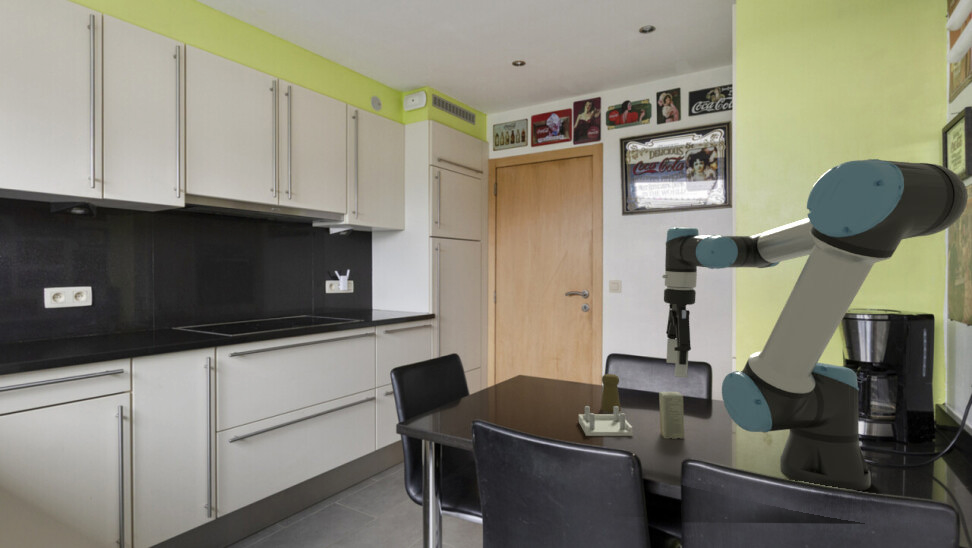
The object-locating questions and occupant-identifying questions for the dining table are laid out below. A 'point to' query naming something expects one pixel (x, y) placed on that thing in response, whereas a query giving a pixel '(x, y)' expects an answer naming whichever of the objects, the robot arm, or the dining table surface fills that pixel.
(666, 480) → the dining table surface
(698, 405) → the dining table surface
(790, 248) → the robot arm
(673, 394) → the box
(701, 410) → the dining table surface
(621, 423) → the tray
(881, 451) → the dining table surface
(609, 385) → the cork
